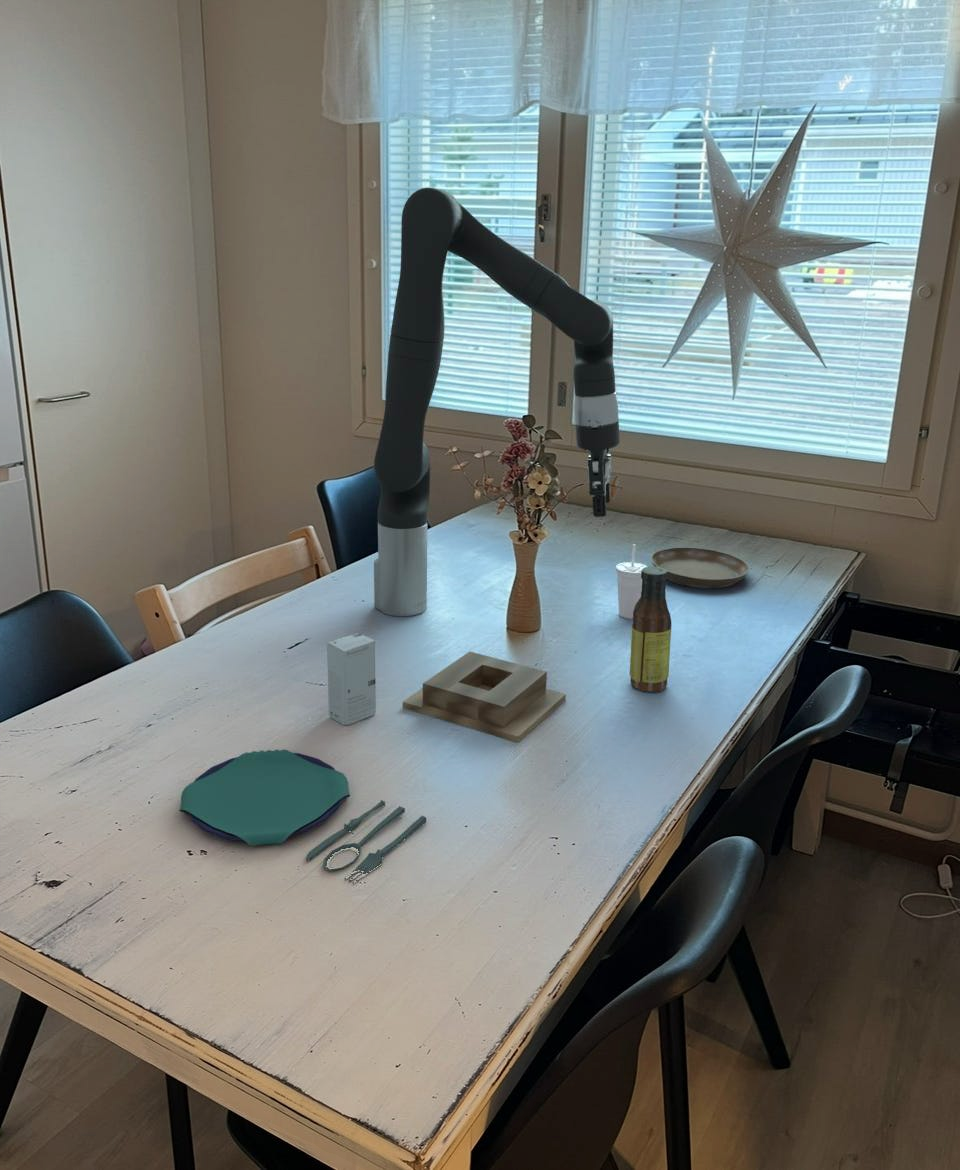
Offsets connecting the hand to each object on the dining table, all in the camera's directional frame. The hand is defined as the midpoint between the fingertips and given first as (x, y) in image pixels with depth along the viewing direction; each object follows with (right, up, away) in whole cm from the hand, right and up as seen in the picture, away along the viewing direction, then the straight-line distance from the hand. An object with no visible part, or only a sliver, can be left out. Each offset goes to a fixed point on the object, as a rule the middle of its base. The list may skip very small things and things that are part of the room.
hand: (602, 509), depth 176 cm
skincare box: (-41, -33, -28) cm, 60 cm away
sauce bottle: (+5, -30, -16) cm, 35 cm away
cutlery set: (-45, -43, -53) cm, 82 cm away
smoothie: (+7, -20, +12) cm, 24 cm away
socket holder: (-21, -32, -24) cm, 45 cm away
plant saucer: (+25, -12, +35) cm, 45 cm away
